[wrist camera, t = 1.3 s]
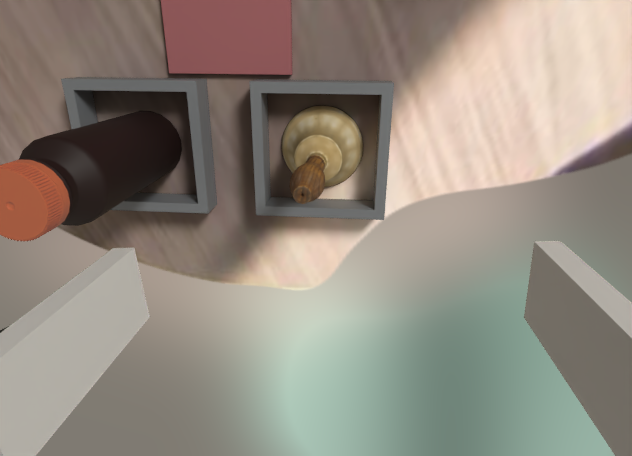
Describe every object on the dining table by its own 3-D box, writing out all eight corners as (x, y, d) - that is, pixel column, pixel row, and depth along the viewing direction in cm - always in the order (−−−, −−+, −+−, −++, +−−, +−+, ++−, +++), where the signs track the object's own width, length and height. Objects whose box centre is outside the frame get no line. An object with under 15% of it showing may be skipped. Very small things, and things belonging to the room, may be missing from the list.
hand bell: (308, 199, 46) (286, 268, 31) (266, 131, 43) (222, 171, 29) (377, 162, 44) (389, 218, 29) (337, 89, 41) (328, 108, 27)
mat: (154, -73, 37) (152, -74, 37) (290, -75, 37) (289, -76, 36) (171, 72, 42) (169, 73, 42) (292, 74, 41) (291, 74, 41)
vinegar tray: (80, 77, 43) (61, 78, 40) (206, 78, 42) (196, 80, 39) (103, 200, 48) (88, 209, 45) (217, 203, 47) (208, 213, 44)
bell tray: (256, 79, 42) (249, 81, 39) (391, 81, 41) (393, 83, 38) (262, 205, 46) (256, 215, 44) (382, 209, 46) (384, 219, 43)
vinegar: (145, 95, 43) (-11, 127, 25) (196, 144, 45) (84, 209, 26) (107, 141, 45) (-62, 202, 27) (157, 187, 47) (28, 274, 28)
